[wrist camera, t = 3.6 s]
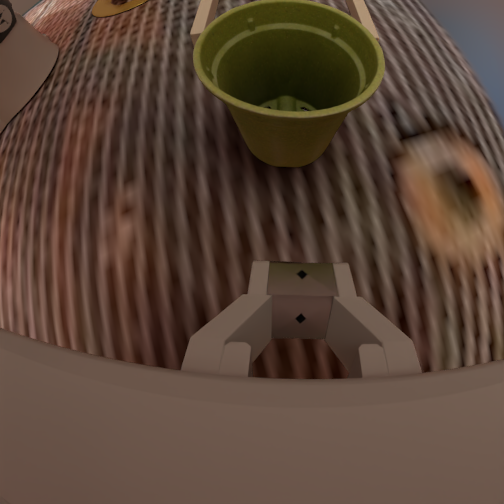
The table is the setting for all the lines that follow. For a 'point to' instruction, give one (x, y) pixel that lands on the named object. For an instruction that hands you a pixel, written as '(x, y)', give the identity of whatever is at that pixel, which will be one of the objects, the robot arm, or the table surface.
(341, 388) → the robot arm
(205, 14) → the frame
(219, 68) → the plant pot
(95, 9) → the cup
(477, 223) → the table surface
